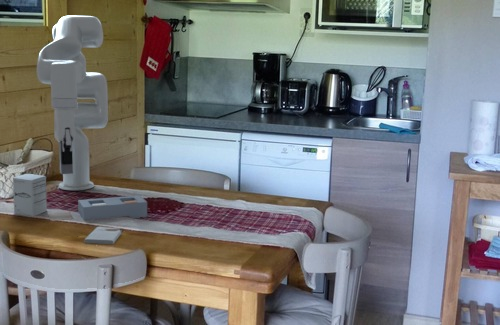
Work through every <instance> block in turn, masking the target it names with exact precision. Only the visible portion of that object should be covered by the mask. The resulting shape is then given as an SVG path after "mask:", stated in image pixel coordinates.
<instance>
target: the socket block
mask: <svg viewBox="0 0 500 325" xmlns="http://www.w3.org/2000/svg"><path fill="white" fill-rule="evenodd" d="M77 204H78V205H77V207H78V208H77V210H78V214H79V215H80V217H81V218H82V220H83V221H89V220H90V221H91V220H96V219H97V220H99V219H108V218H109V219H110V218H120V217H129V218H130V219H131V218H132V219H141V218H140V217H143V218H148V201H147V200H146V199H145V198H144V197H143V196H141V195H140V194H138V195H127V196H115V197H114V196H113V197H101V198H100V197H99V198H88V199H78V200H77Z"/></svg>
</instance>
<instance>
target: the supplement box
mask: <svg viewBox="0 0 500 325" xmlns="http://www.w3.org/2000/svg"><path fill="white" fill-rule="evenodd" d="M12 184H13V185H12V186H13V187H12V188H13V192H12V193H13V213H14V215H20V216H21V215H22V216H27V217H35V216H38V215H40V214H42V213H44V212H47V211H48V209H47V176H45V175H42V174H41V175H40V174H32V173H24V174H21V175H17V176H14V177H12Z"/></svg>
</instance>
